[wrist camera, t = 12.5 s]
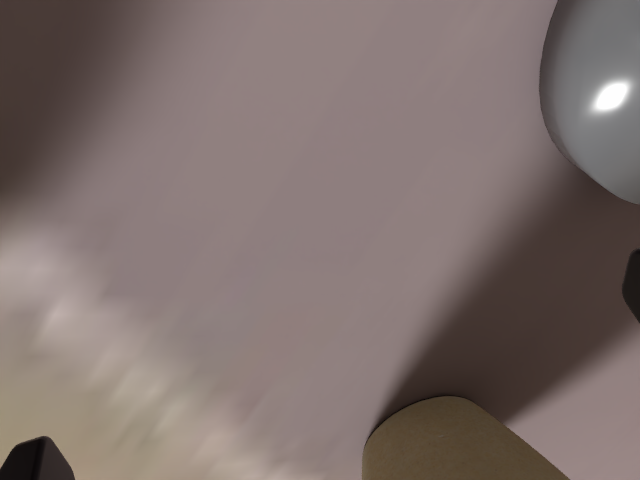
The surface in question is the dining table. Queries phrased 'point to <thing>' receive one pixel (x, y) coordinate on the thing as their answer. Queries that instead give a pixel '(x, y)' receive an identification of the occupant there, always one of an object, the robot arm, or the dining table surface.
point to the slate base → (595, 90)
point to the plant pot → (451, 446)
